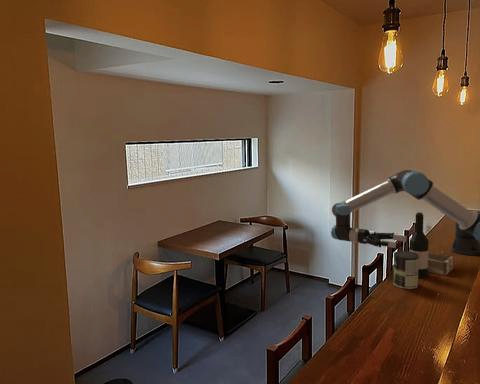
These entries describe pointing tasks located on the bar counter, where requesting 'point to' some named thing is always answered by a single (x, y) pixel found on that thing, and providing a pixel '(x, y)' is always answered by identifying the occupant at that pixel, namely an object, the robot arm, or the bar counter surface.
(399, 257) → the coffee can
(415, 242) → the wine bottle
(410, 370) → the bar counter surface
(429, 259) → the u rest
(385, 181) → the robot arm
